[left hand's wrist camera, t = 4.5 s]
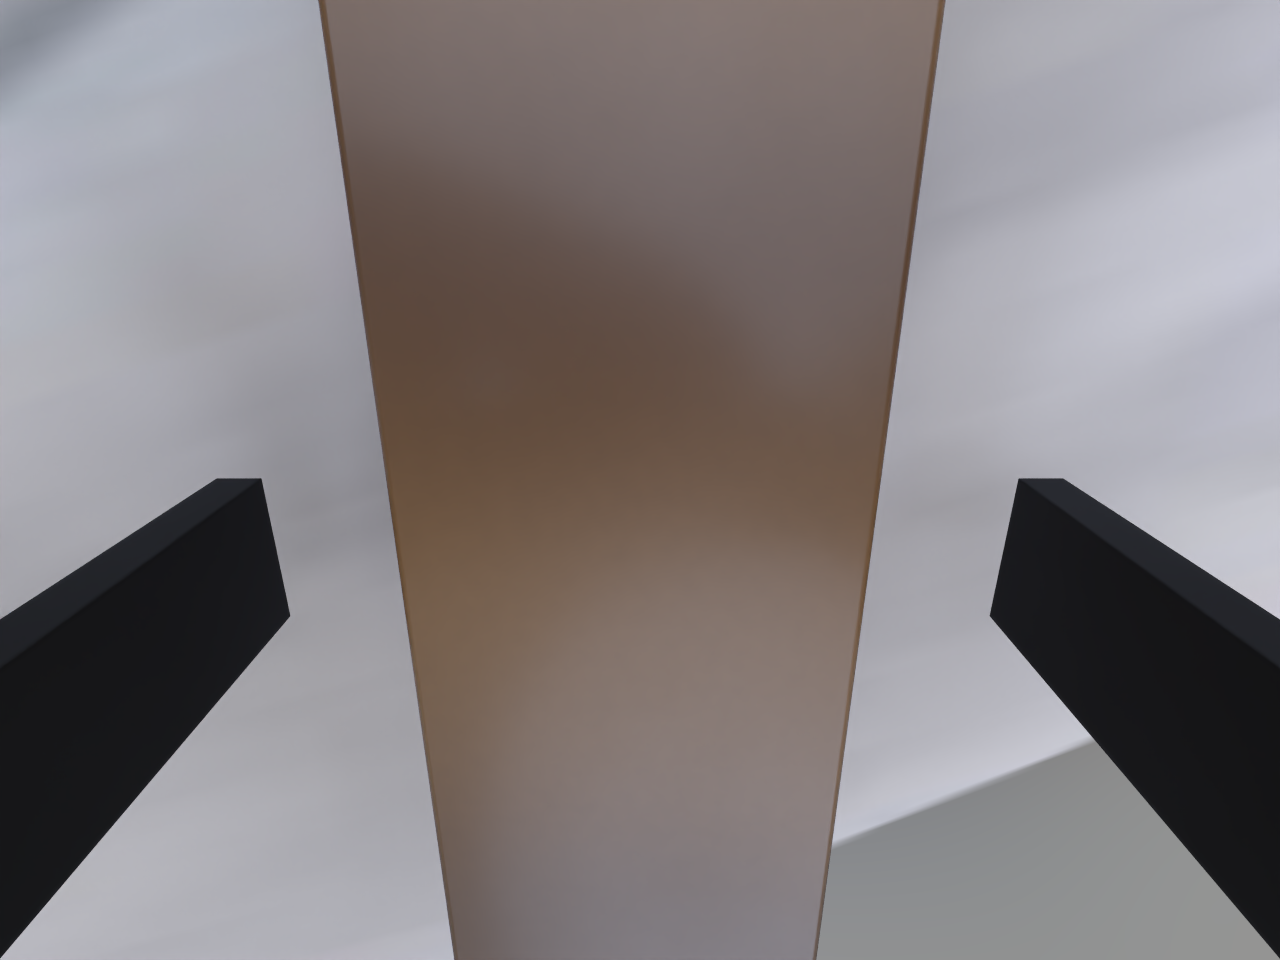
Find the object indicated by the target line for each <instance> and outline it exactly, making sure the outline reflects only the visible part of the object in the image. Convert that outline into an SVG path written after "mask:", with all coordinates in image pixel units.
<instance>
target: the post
mask: <svg viewBox="0 0 1280 960" xmlns="http://www.w3.org/2000/svg"><path fill="white" fill-rule="evenodd" d="M318 1H319V8H320V15H321V23H322V30H323V37H324V44H325V51H326V58H327V65H328V72H329V79H330V86H331V93H332V100H333V107H334V114H335V121H336V128H337V135H338V142H339V149H340V156H341V163H342V171H343V178H344V185H345V192H346V199H347V206H348V213H349V220H350V227H351V234H352V241H353V248H354V255H355V262H356V269H357V276H358V283H359V290H360V297H361V304H362V311H363V319H364V326H365V333H366V340H367V347H368V354H369V361H370V368H371V375H372V382H373V389H374V396H375V403H376V410H377V417H378V424H379V431H380V438H381V445H382V452H383V459H384V467H385V474H386V481H387V488H388V495H389V502H390V509H391V516H392V523H393V530H394V537H395V544H396V551H397V558H398V565H399V572H400V579H401V586H402V593H403V600H404V607H405V615H406V622H407V629H408V636H409V643H410V650H411V657H412V664H413V671H414V678H415V685H416V692H417V699H418V706H419V713H420V720H421V727H422V734H423V741H424V748H425V755H426V763H427V770H428V777H429V784H430V791H431V798H432V805H433V812H434V819H435V826H436V833H437V840H438V847H439V854H440V861H441V868H442V875H443V882H444V889H445V896H446V903H447V911H448V918H449V925H450V932H451V939H452V946H453V953H454V960H816V957H817V949H818V942H819V935H820V927H821V920H822V912H823V905H824V898H825V890H826V883H827V875H828V868H829V860H830V853H831V846H832V838H833V831H834V823H835V816H836V809H837V801H838V794H839V786H840V779H841V772H842V764H843V757H844V749H845V742H846V734H847V727H848V720H849V712H850V705H851V697H852V690H853V682H854V675H855V668H856V660H857V653H858V645H859V638H860V631H861V623H862V616H863V608H864V601H865V593H866V586H867V579H868V571H869V564H870V556H871V549H872V542H873V534H874V527H875V519H876V512H877V504H878V497H879V490H880V482H881V475H882V467H883V460H884V452H885V445H886V438H887V430H888V423H889V415H890V408H891V401H892V393H893V386H894V378H895V371H896V363H897V356H898V349H899V341H900V334H901V326H902V319H903V311H904V304H905V297H906V289H907V282H908V274H909V267H910V260H911V252H912V245H913V237H914V230H915V222H916V215H917V208H918V200H919V193H920V185H921V178H922V171H923V163H924V156H925V148H926V141H927V133H928V126H929V119H930V111H931V104H932V96H933V89H934V81H935V74H936V67H937V59H938V52H939V44H940V37H941V30H942V22H943V15H944V7H945V0H318Z"/></svg>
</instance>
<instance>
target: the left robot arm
mask: <svg viewBox="0 0 1280 960" xmlns="http://www.w3.org/2000/svg"><path fill="white" fill-rule="evenodd" d="M289 617H290V612H289V608H288V603H287V598H286V593H285V589H284V584H283V579H282V574H281V570H280V565H279V560H278V555H277V551H276V546H275V541H274V536H273V532H272V527H271V522H270V517H269V513H268V508H267V503H266V498H265V494H264V489H263V484H262V479H215V480H214V481H212V482H211V483H209V484H208V485H206V486H205V487H203V488H202V489H200V490H198V491H197V492H195V493H194V494H192V495H191V496H189V497H188V498H186V499H185V500H183V501H182V502H180V503H179V504H177V505H175V506H174V507H172V508H171V509H169V510H168V511H166V512H165V513H163V514H162V515H160V516H159V517H157V518H155V519H154V520H152V521H151V522H149V523H148V524H146V525H145V526H143V527H142V528H140V529H139V530H137V531H135V532H134V533H132V534H131V535H129V536H128V537H126V538H125V539H123V540H122V541H120V542H119V543H117V544H116V545H114V546H112V547H111V548H109V549H108V550H106V551H105V552H103V553H102V554H100V555H99V556H97V557H96V558H94V559H92V560H91V561H89V562H88V563H86V564H85V565H83V566H82V567H80V568H79V569H77V570H76V571H74V572H72V573H71V574H69V575H68V576H66V577H65V578H63V579H62V580H60V581H59V582H57V583H56V584H54V585H52V586H51V587H49V588H48V589H46V590H45V591H43V592H42V593H40V594H39V595H37V596H36V597H34V598H33V599H31V600H29V601H28V602H26V603H25V604H23V605H22V606H20V607H19V608H17V609H16V610H14V611H13V612H11V613H9V614H8V615H6V616H5V617H3V618H2V619H0V958H1V957H2V956H3V954H4V953H5V952H6V951H7V950H8V949H9V947H10V946H11V945H12V944H13V943H14V941H15V940H16V939H17V938H18V937H19V936H20V934H21V933H22V932H23V931H24V930H25V928H26V927H27V926H28V925H29V924H30V923H31V921H32V920H33V919H34V918H35V917H36V915H37V914H38V913H39V912H40V911H41V910H42V908H43V907H44V906H45V905H46V904H47V902H48V901H49V900H50V899H51V898H52V897H53V895H54V894H55V893H56V892H57V891H58V890H59V888H60V887H61V886H62V885H63V884H64V882H65V881H66V880H67V879H68V878H69V877H70V875H71V874H72V873H73V872H74V871H75V869H76V868H77V867H78V866H79V865H80V864H81V862H82V861H83V860H84V859H85V858H86V856H87V855H88V854H89V853H90V852H91V851H92V849H93V848H94V847H95V846H96V845H97V843H98V842H99V841H100V840H101V839H102V838H103V836H104V835H105V834H106V833H107V832H108V831H109V829H110V828H111V827H112V826H113V825H114V823H115V822H116V821H117V820H118V819H119V818H120V816H121V815H122V814H123V813H124V812H125V810H126V809H127V808H128V807H129V806H130V805H131V803H132V802H133V801H134V800H135V799H136V797H137V796H138V795H139V794H140V793H141V792H142V790H143V789H144V788H145V787H146V786H147V784H148V783H149V782H150V781H151V780H152V779H153V777H154V776H155V775H156V774H157V773H158V771H159V770H160V769H161V768H162V767H163V766H164V764H165V763H166V762H167V761H168V760H169V759H170V757H171V756H172V755H173V754H174V753H175V751H176V750H177V749H178V748H179V747H180V746H181V744H182V743H183V742H184V741H185V740H186V738H187V737H188V736H189V735H190V734H191V733H192V731H193V730H194V729H195V728H196V727H197V725H198V724H199V723H200V722H201V721H202V720H203V718H204V717H205V716H206V715H207V714H208V712H209V711H210V710H211V709H212V708H213V707H214V705H215V704H216V703H217V702H218V701H219V700H220V698H221V697H222V696H223V695H224V694H225V692H226V691H227V690H228V689H229V688H230V687H231V685H232V684H233V683H234V682H235V681H236V679H237V678H238V677H239V676H240V675H241V674H242V672H243V671H244V670H245V669H246V668H247V666H248V665H249V664H250V663H251V662H252V661H253V659H254V658H255V657H256V656H257V655H258V653H259V652H260V651H261V650H262V649H263V648H264V646H265V645H266V644H267V643H268V642H269V640H270V639H271V638H272V637H273V636H274V635H275V633H276V632H277V631H278V630H279V629H280V628H281V626H282V625H283V624H284V623H285V622H286V620H287V619H288V618H289ZM990 617H991V618H992V619H993V620H994V622H995V623H996V624H997V625H998V626H999V628H1000V629H1001V630H1002V631H1003V632H1004V633H1005V635H1006V636H1007V637H1008V638H1009V639H1010V641H1011V642H1012V643H1013V644H1014V645H1015V646H1016V648H1017V649H1018V650H1019V651H1020V652H1021V654H1022V655H1023V656H1024V657H1025V658H1026V659H1027V661H1028V662H1029V663H1030V664H1031V665H1032V666H1033V668H1034V669H1035V670H1036V671H1037V672H1038V674H1039V675H1040V676H1041V677H1042V678H1043V679H1044V681H1045V682H1046V683H1047V684H1048V685H1049V687H1050V688H1051V689H1052V690H1053V691H1054V692H1055V694H1056V695H1057V696H1058V697H1059V698H1060V700H1061V701H1062V702H1063V703H1064V704H1065V705H1066V707H1067V708H1068V709H1069V710H1070V711H1071V713H1072V714H1073V715H1074V716H1075V717H1076V718H1077V720H1078V721H1079V722H1080V723H1081V724H1082V725H1083V727H1084V728H1085V729H1086V730H1087V731H1088V733H1089V734H1090V735H1091V736H1092V737H1093V738H1094V740H1095V741H1096V742H1097V743H1098V744H1099V746H1100V747H1101V748H1102V749H1103V750H1104V751H1105V753H1106V754H1107V755H1108V756H1109V757H1110V759H1111V760H1112V761H1113V762H1114V763H1115V764H1116V766H1117V767H1118V768H1119V769H1120V770H1121V772H1122V773H1123V774H1124V775H1125V776H1126V777H1127V779H1128V780H1129V781H1130V782H1131V783H1132V784H1133V786H1134V787H1135V788H1136V789H1137V790H1138V792H1139V793H1140V794H1141V795H1142V796H1143V797H1144V799H1145V800H1146V801H1147V802H1148V803H1149V805H1150V806H1151V807H1152V808H1153V809H1154V810H1155V812H1156V813H1157V814H1158V815H1159V816H1160V817H1161V819H1162V820H1163V821H1164V822H1165V823H1166V825H1167V826H1168V827H1169V828H1170V829H1171V831H1172V832H1173V833H1174V834H1175V835H1176V836H1177V838H1178V839H1179V840H1180V841H1181V842H1182V843H1183V845H1184V846H1185V847H1186V848H1187V849H1188V851H1189V852H1190V853H1191V854H1192V855H1193V857H1194V858H1195V859H1196V860H1197V861H1198V862H1199V864H1200V865H1201V866H1202V867H1203V868H1204V869H1205V871H1206V872H1207V873H1208V874H1209V875H1210V877H1211V878H1212V879H1213V880H1214V881H1215V882H1216V884H1217V885H1218V886H1219V887H1220V888H1221V890H1222V891H1223V892H1224V893H1225V894H1226V895H1227V897H1228V898H1229V899H1230V900H1231V901H1232V903H1233V904H1234V905H1235V906H1236V907H1237V908H1238V910H1239V911H1240V912H1241V913H1242V914H1243V916H1244V917H1245V918H1246V919H1247V920H1248V921H1249V923H1250V924H1251V925H1252V926H1253V927H1254V928H1255V930H1256V931H1257V932H1258V933H1259V934H1260V936H1261V937H1262V938H1263V939H1264V940H1265V941H1266V943H1267V944H1268V945H1269V946H1270V947H1271V949H1272V950H1273V951H1274V952H1275V953H1276V954H1277V956H1278V957H1279V958H1280V619H1278V618H1277V617H1275V616H1274V615H1272V614H1271V613H1269V612H1267V611H1266V610H1264V609H1263V608H1261V607H1260V606H1258V605H1257V604H1255V603H1254V602H1252V601H1251V600H1249V599H1247V598H1246V597H1244V596H1243V595H1241V594H1240V593H1238V592H1237V591H1235V590H1234V589H1232V588H1231V587H1229V586H1227V585H1226V584H1224V583H1223V582H1221V581H1220V580H1218V579H1217V578H1215V577H1214V576H1212V575H1211V574H1209V573H1208V572H1206V571H1204V570H1203V569H1201V568H1200V567H1198V566H1197V565H1195V564H1194V563H1192V562H1191V561H1189V560H1188V559H1186V558H1184V557H1183V556H1181V555H1180V554H1178V553H1177V552H1175V551H1174V550H1172V549H1171V548H1169V547H1168V546H1166V545H1164V544H1163V543H1161V542H1160V541H1158V540H1157V539H1155V538H1154V537H1152V536H1151V535H1149V534H1148V533H1146V532H1144V531H1143V530H1141V529H1140V528H1138V527H1137V526H1135V525H1134V524H1132V523H1131V522H1129V521H1128V520H1126V519H1125V518H1123V517H1121V516H1120V515H1118V514H1117V513H1115V512H1114V511H1112V510H1111V509H1109V508H1108V507H1106V506H1105V505H1103V504H1101V503H1100V502H1098V501H1097V500H1095V499H1094V498H1092V497H1091V496H1089V495H1088V494H1086V493H1085V492H1083V491H1081V490H1080V489H1078V488H1077V487H1075V486H1074V485H1072V484H1071V483H1069V482H1068V481H1066V480H1065V479H1018V484H1017V489H1016V494H1015V498H1014V503H1013V508H1012V513H1011V517H1010V522H1009V527H1008V532H1007V536H1006V541H1005V546H1004V551H1003V555H1002V560H1001V565H1000V570H999V574H998V579H997V584H996V588H995V593H994V598H993V603H992V607H991V612H990Z"/></svg>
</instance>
